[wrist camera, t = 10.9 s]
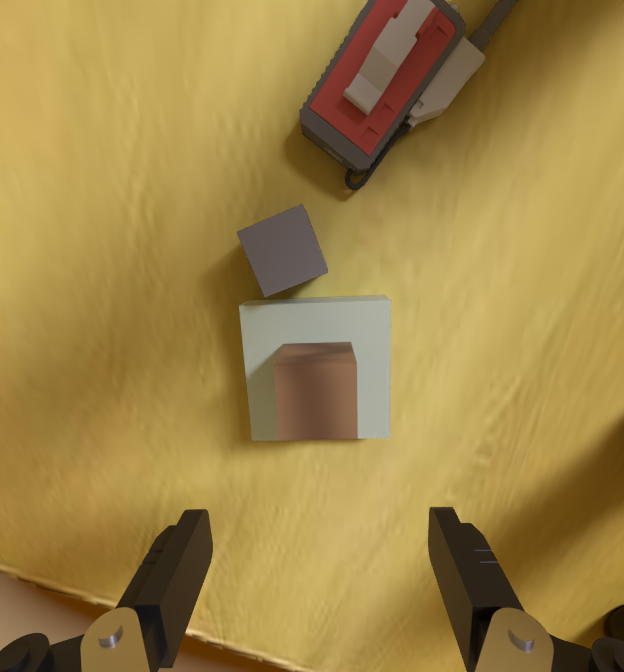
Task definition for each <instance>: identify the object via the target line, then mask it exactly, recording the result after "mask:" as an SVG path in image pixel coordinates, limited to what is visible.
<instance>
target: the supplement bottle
mask: <svg viewBox="0 0 624 672" xmlns="http://www.w3.org/2000/svg"><path fill="white" fill-rule="evenodd" d="M604 633H605V637H609V638H615V639H619V640H621V641H624V606H623V607H621V608H619V609H617V610H616V611H614V612H613V613H612V614H611V615H610V616H609V617H608V619H607V620H606V623H605V627H604Z"/></svg>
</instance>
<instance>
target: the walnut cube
mask: <svg viewBox="0 0 624 672" xmlns="http://www.w3.org/2000/svg"><path fill="white" fill-rule="evenodd" d="M274 378H275V392H276V406H277V421H278V435H279V440H324V439H358V413H357V362H356V358H355V354H354V351H353V347H352V344H351V342H324V343H290V344H283V345H282V348H281V350H280V352H279V355H278V357H277V359H276V362H275V364H274Z"/></svg>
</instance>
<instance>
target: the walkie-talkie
mask: <svg viewBox="0 0 624 672" xmlns="http://www.w3.org/2000/svg"><path fill="white" fill-rule="evenodd" d="M516 1H517V0H499V1H498V2H497V4H496V5H495V7H494V8H493V9H492V11H491V12H490V14H489V15H488V17H487V18H486V19H485V21H484V22H483V24H482V25H481V26H480V28H479V29H477V30H475V31H474V33H473V34H472V35H471V37H470V38H469V40H467V39H466V38H465V37H464V36H463V35H464V34H465V25H466V24H465V22H464V21H463V19H462V17H461V16H460V14H459V13H458V7H457V6H456V5H455V4H453V3H451V4H448V3H447V2H446V1H444V0H368V2H367V4H366V5H365V7H364V8H363V9H362V10H361V12H360V14H359V15H358V17H357V18H356V20H355V23H354V24H353V26H352V27H351V29H350V31H349V35H348V36H346V37H345V40H344V43H343V44H341V45H340V49H339V50H338V51H336V53H335V57H334V58H333V59H331V61H330V65H329V66H327V67H326V71H325V73H324V74H322V75H321V79H320V81H317V85H316V87H315V88H313V89H312V93H311V95H309V96H308V100H307V101H306V102H304V104H303V108H302V109H300V110H299V111H300V120H301V127H302V132H303V135H305V136H306V137H307V138H308V139H310V140H311V141H312V142H313V143H315V144H316V145H317V146H318V147H320V148H321V149H322V150H323V151H325V152H326V153H327V154H329V155H330V156H331V157H332V158H334V159H335V160H336V161H337V162H339V163H340V164H341V165H342V166H344V167H345V168H346V169H347V170H348V171H347V173H346V176H345V183H346V185H347V186H348V187H349V189H351V190H357V189H360V188H361V187H362V186H363V185H364V184H365V183H366V182H367V180H368V179H369V177H370V176H371V175H372V173H373V172H374V170H375V169H376V168H377V166H378V165H379V163H380V162H381V160H382V159H383V158H384V156H385V155H386V153H387V152H388V151H389V149H390V148H391V147H392V145H393V144H394V143H395V141H396V140H397V139H398V138H399V137H400V136H402V135H404V134H406V133H407V132H408V131H410V132H411V131H412V129H413V128H414V127H415V125H416V124H418V123H421V122H424V121H427V120H429V119H432V118H435V117H438V116H440V115H441V114H442V113H443V112H444V111H445V109H446V108H447V107H448V106H449V104H450V103H451V102H452V100H453V99H454V98H455V96H456V95H457V94H458V92H459V91H460V90H461V88H462V87H463V85H464V84H465V83H466V81H467V80H468V79H469V78H471V77H472V75H473V74H474V73H475V72H476V71H477V70H478V69H479V67H480V66H481V64H482V63H483V62H484V60H485V59H486V57H485V55H484V54H483V53H482V52H483V50H484V49H485V48H486V46H487V45H488V43H489V39H490V37H491V36H492V35H493V33H494V32H495V30H496V29H497V28H498V26H499V25H500V24H501V22H502V21H503V19H504V18H505V17H506V15H507V14H508V13H509V11H510V10H511V8H512V7H513V6H514V4H515V3H516ZM404 119H405V120H404ZM403 121H404V122H405V123H406V124H405V126H404V128H403V129H401V130H399V131H397V130H398V128H399V126H400V125H401V124H402V122H403ZM396 131H397V132H396ZM395 132H396V133H395ZM394 134H395V135H394ZM393 135H394V136H393ZM382 150H383V151H382ZM377 157H378V158H377ZM351 174H354V175H355V176H356V175H361V174H366V175H365V176H364V178H363V179H362V180H361V181H360V182H359V183H357V184H353V183H352V182H351V181H350V176H351Z"/></svg>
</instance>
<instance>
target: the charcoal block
mask: <svg viewBox="0 0 624 672" xmlns="http://www.w3.org/2000/svg"><path fill="white" fill-rule="evenodd" d="M237 234H238V237H239V239H240V241H241V244H242V246H243V248H244V251H245V253H246V255H247V258H248V260H249V262H250V265H251V267H252V269H253V272H254V274H255V276H256V279H257V281H258V283H259V286H260V288H261V290H262V293H263V295H264V297H268V296H270V295H273V294H275V293H278V292H280V291H283V290H285V289H288V288H290V287H293V286H295V285H298V284H301V283H303V282H306V281H308V280H311V279H313V278H316V277H318V276H321V275H323V274H326V273H328V268H327V265H326V262H325V260H324V257H323V254H322V252H321V249H320V247H319V244H318V241H317V239H316V236H315V233H314V231H313V228H312V225H311V223H310V220H309V217H308V215H307V212H306V210H305V208H304V206H303V205H302V204H301V205H298V206H296V207H294V208H291V209H289V210H287V211H284V212H282V213H280V214H277V215H275V216H273V217H270V218H268V219H266V220H263V221H261V222H259V223H256V224H254V225H252V226H249V227H247V228H244V229H242V230H240V231H237Z"/></svg>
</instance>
